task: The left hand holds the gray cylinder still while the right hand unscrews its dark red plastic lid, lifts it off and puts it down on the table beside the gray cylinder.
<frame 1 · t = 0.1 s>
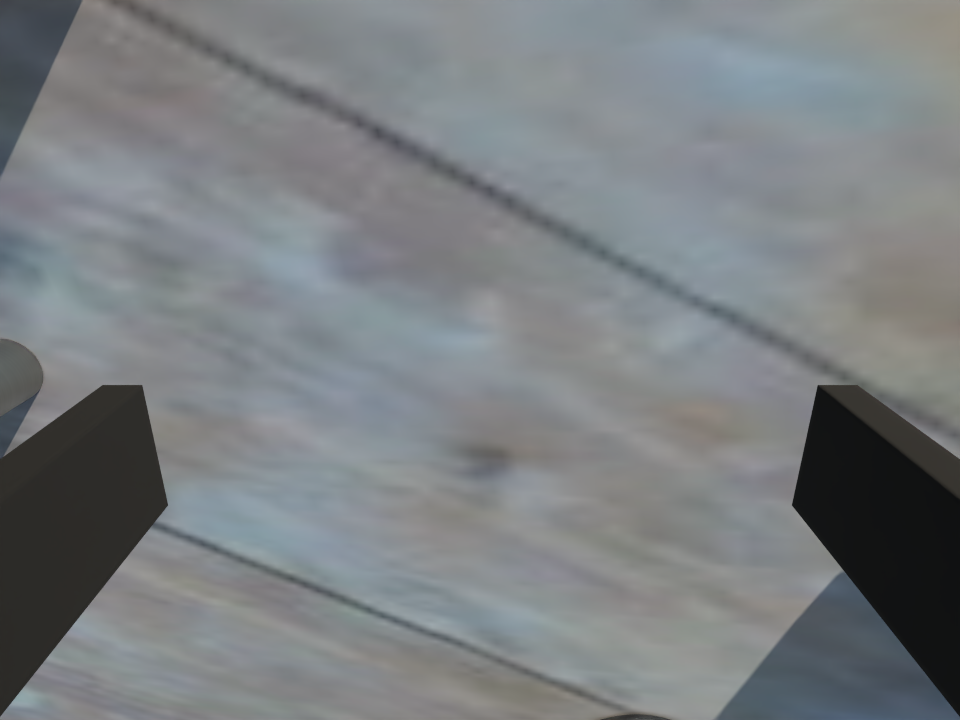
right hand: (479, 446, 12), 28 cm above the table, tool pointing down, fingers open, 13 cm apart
gray cylinder: (9, 369, 42), on the table
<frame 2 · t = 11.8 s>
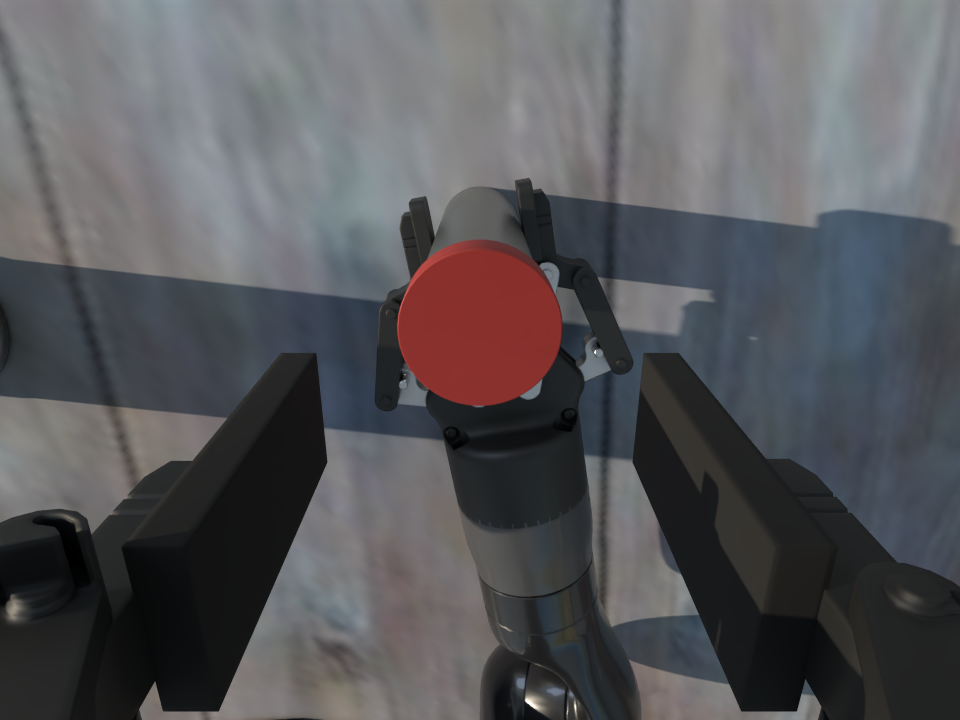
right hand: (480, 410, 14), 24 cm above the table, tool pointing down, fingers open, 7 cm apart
left hand: (469, 192, 30), fingers closed on gray cylinder, 4 cm apart
gray cylinder: (479, 225, 37), on the table, touching left hand
lid: (480, 327, 19), point 19 cm above the table, screwed on, not yet turned
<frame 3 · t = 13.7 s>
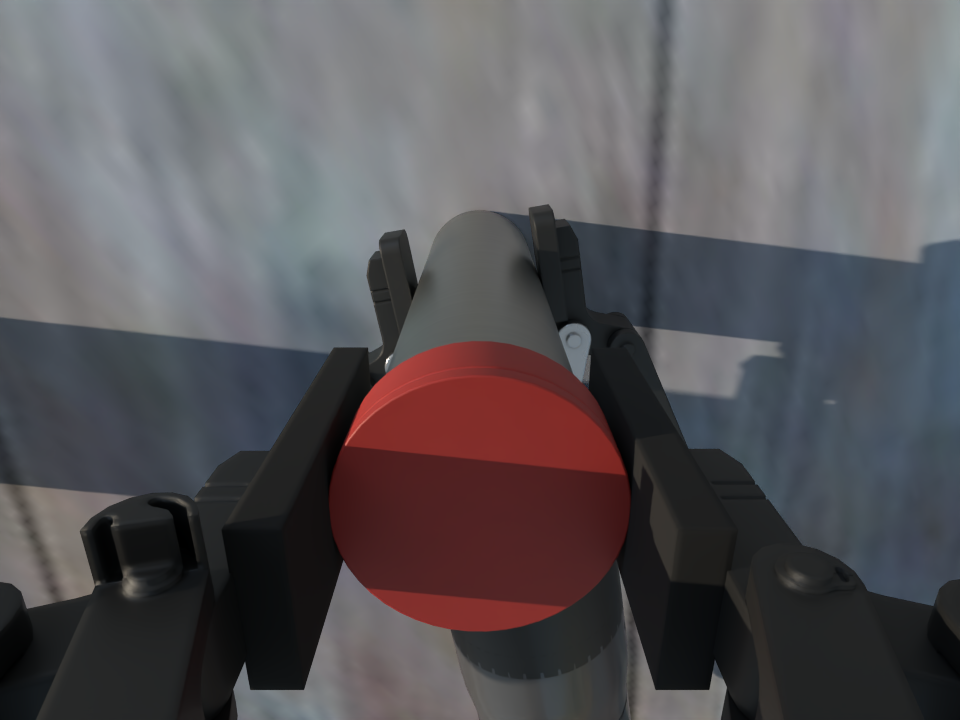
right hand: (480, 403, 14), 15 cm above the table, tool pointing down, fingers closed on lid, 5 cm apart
gray cylinder: (479, 260, 28), on the table, touching left hand
lid: (479, 503, 11), point 19 cm above the table, screwed on, not yet turned, touching right hand
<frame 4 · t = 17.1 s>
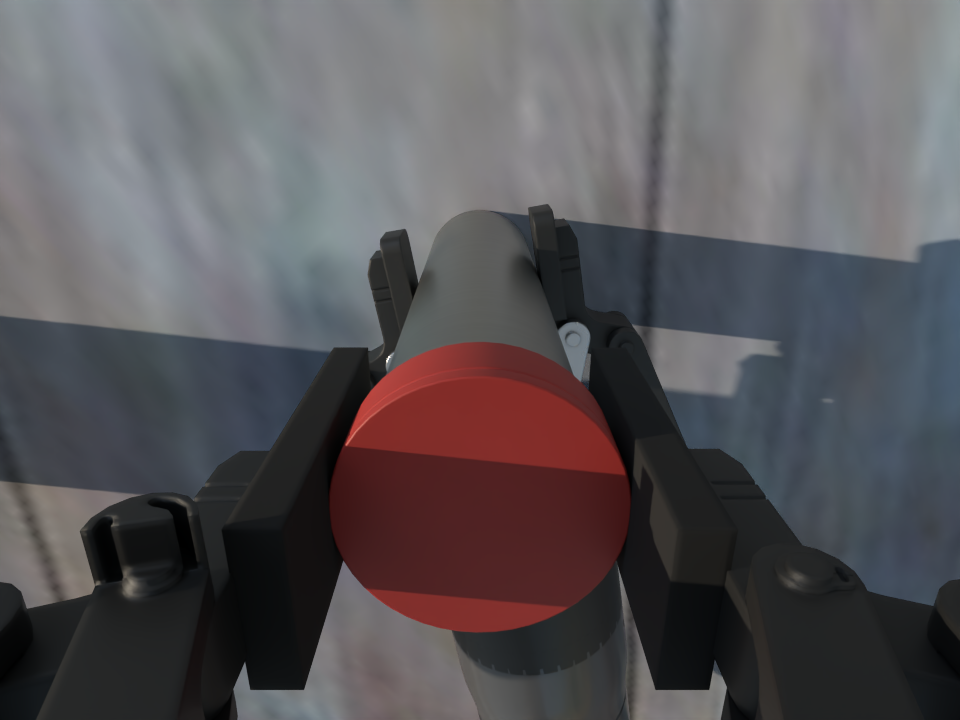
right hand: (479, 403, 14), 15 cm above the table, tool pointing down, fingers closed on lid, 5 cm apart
gray cylinder: (479, 260, 28), on the table, touching left hand
lid: (479, 504, 11), point 19 cm above the table, turned 116° so far, risen 0.2 cm, still on its thread, touching right hand
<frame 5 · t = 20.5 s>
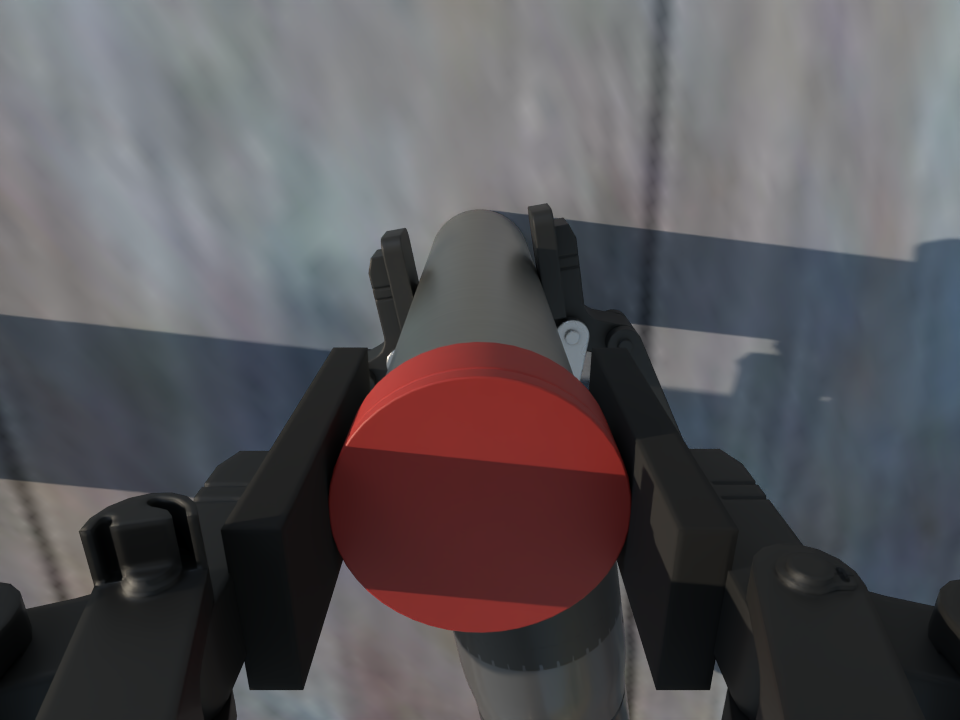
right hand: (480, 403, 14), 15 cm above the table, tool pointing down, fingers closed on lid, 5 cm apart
gray cylinder: (479, 259, 28), on the table, touching left hand
lid: (479, 504, 11), point 19 cm above the table, turned 231° so far, risen 0.4 cm, still on its thread, touching right hand
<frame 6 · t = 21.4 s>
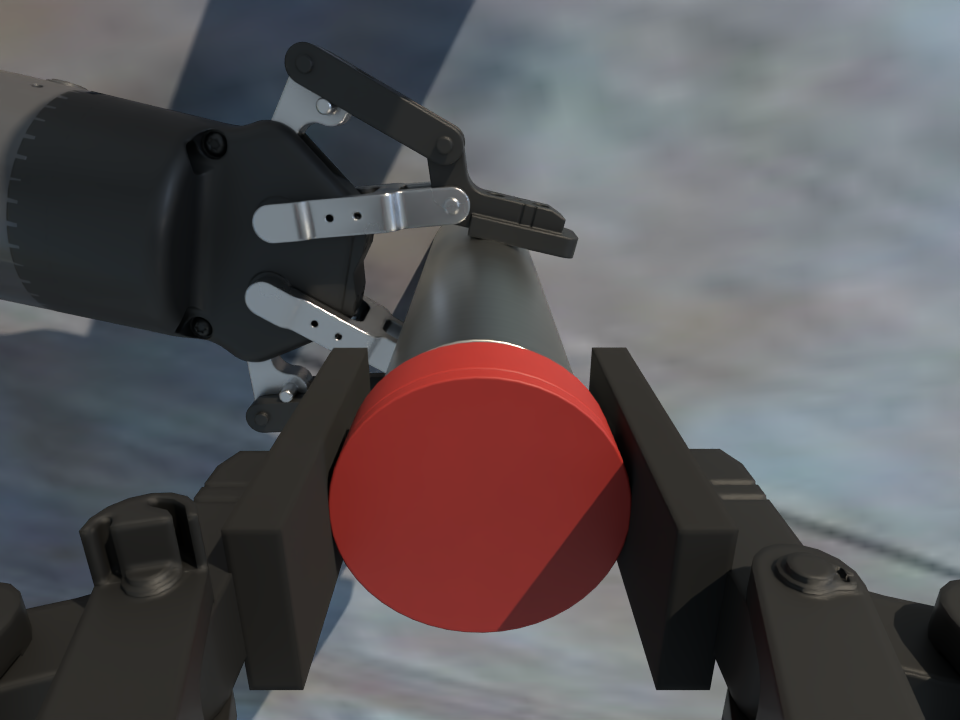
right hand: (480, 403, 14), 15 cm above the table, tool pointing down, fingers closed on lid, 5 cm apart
left hand: (551, 310, 23), fingers closed on gray cylinder, 4 cm apart
gray cylinder: (479, 257, 29), on the table, touching left hand
lid: (479, 504, 11), point 19 cm above the table, off its thread, touching right hand
when the right hand's fingers open (0 cm above the table, at t = 27.7 s): lid drops 3 cm, point 1 cm above the table.
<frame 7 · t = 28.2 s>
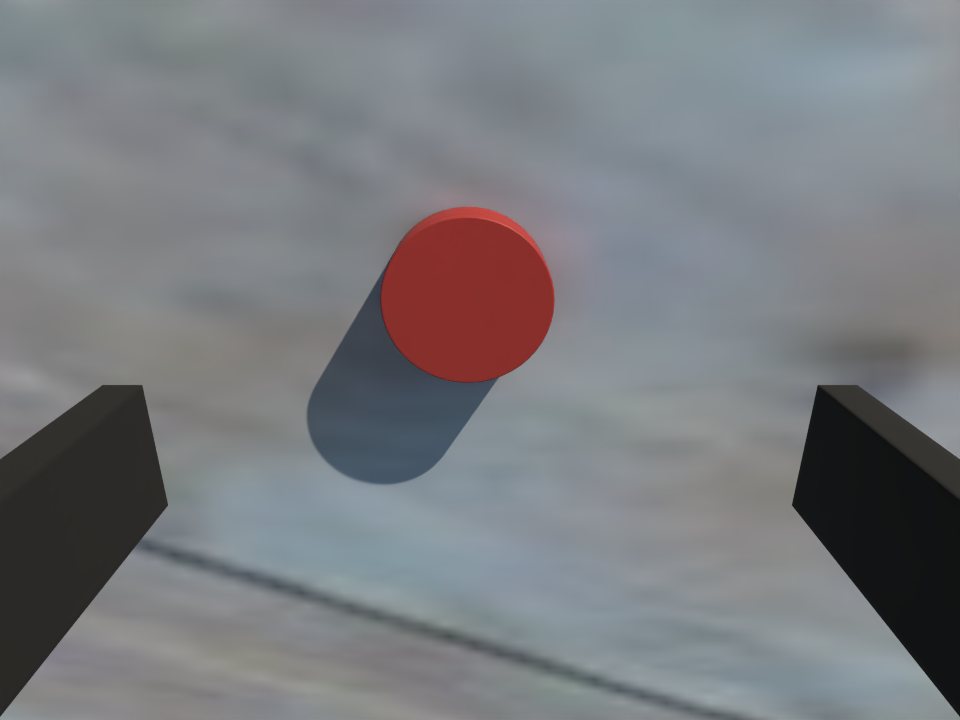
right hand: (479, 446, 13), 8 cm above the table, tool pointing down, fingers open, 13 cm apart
lid: (467, 300, 18), point 1 cm above the table, off its thread
when the left hand's fingers open (6 cm above the table, at t = 28.3 s): gray cylinder stays where it is, on the table.
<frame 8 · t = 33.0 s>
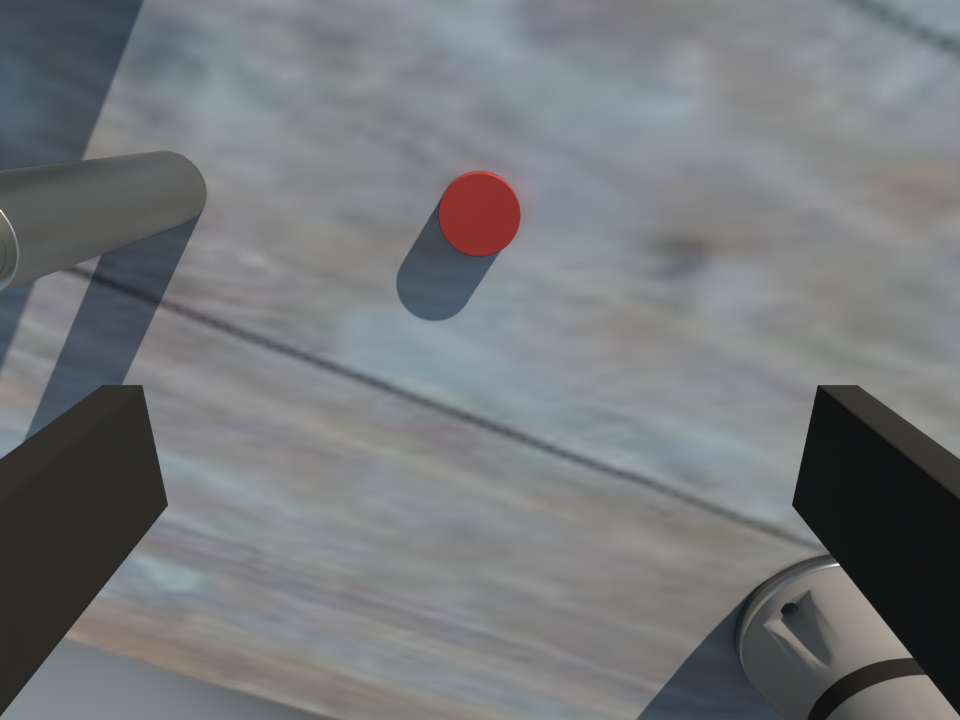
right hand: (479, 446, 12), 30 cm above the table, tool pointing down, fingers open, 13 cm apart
gray cylinder: (170, 188, 39), on the table
lid: (479, 215, 39), point 1 cm above the table, off its thread
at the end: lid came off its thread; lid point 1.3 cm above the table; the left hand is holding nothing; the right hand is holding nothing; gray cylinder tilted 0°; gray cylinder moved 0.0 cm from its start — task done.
